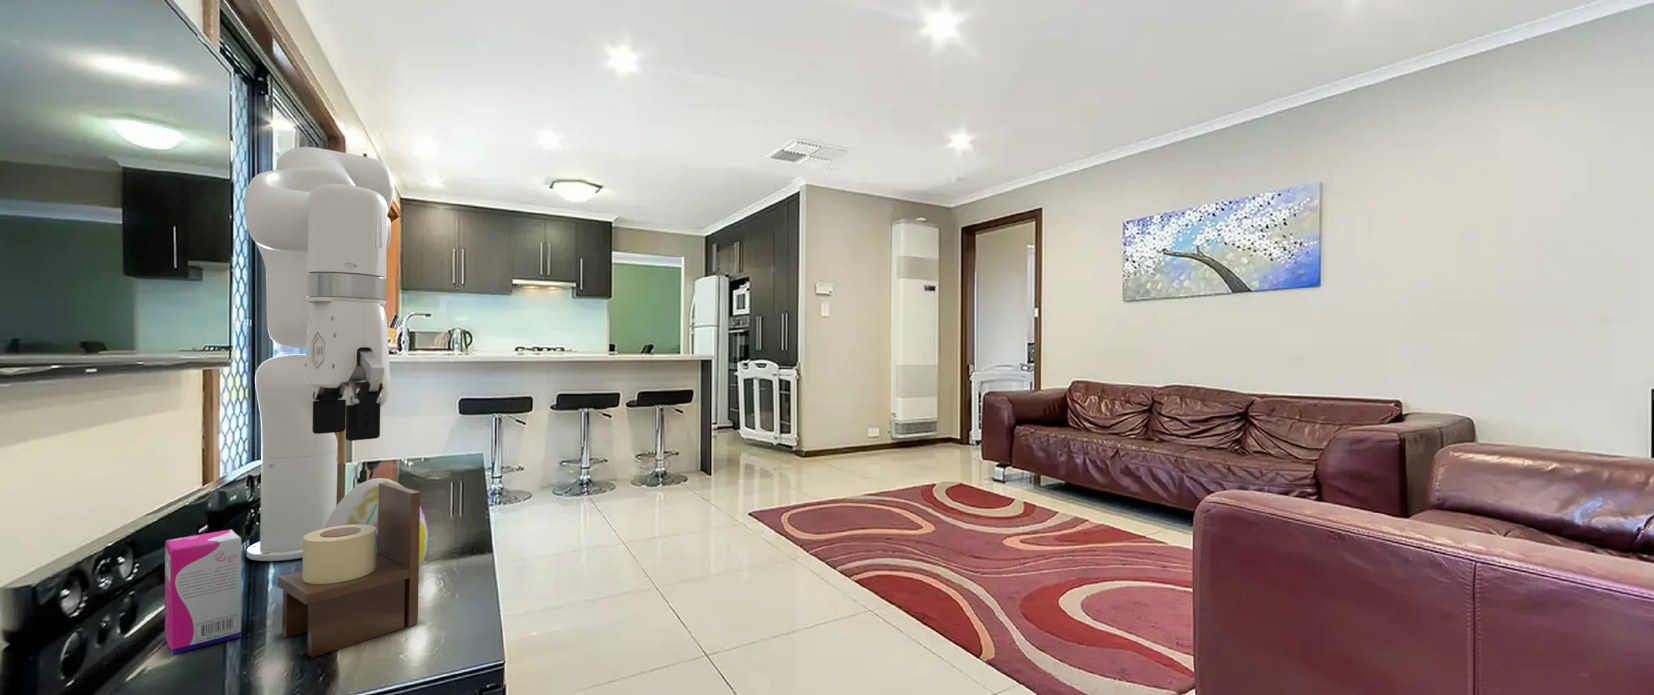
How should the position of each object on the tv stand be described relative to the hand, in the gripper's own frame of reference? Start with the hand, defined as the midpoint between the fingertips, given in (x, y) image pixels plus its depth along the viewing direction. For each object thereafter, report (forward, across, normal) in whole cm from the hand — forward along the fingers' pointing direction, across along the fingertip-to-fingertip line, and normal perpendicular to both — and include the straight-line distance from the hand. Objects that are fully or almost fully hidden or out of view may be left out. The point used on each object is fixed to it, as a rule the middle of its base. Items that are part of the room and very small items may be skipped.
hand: (345, 435), depth 75 cm
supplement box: (+23, -10, -10) cm, 27 cm away
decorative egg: (+23, -12, +8) cm, 27 cm away
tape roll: (+16, +1, -1) cm, 16 cm away
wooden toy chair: (+23, +1, 0) cm, 23 cm away
